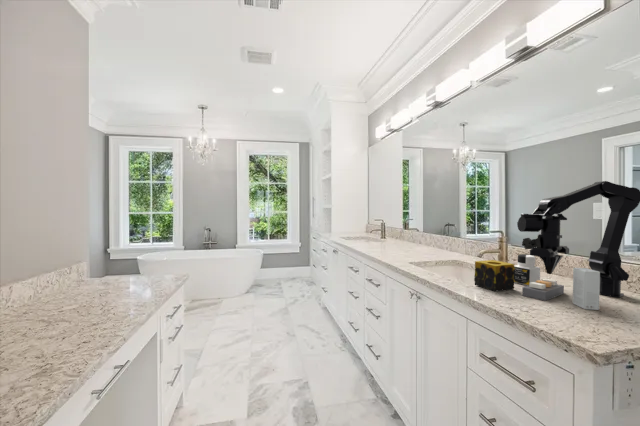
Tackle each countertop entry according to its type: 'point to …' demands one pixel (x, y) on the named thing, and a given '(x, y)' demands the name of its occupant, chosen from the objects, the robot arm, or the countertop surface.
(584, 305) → the skincare box
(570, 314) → the countertop surface
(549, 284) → the middle paddle
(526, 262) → the medicine bottle
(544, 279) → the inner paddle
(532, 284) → the block
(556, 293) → the block
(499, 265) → the yellow and black cube
